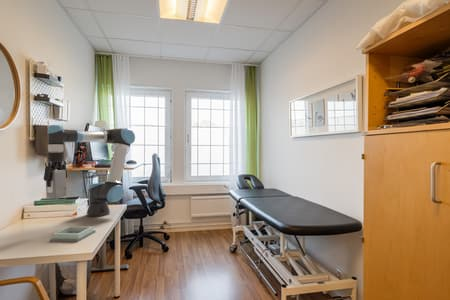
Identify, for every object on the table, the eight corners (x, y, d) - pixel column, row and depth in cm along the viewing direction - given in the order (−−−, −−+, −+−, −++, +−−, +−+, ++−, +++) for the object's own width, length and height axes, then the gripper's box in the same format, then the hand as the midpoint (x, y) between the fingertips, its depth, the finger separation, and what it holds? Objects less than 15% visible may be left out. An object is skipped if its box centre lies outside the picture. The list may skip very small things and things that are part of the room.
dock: (70, 231, 148) (70, 225, 148) (95, 232, 147) (95, 225, 147) (49, 241, 132) (49, 234, 132) (77, 242, 131) (77, 235, 131)
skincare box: (55, 199, 144) (54, 170, 144) (45, 198, 145) (44, 170, 145) (67, 195, 152) (66, 169, 152) (57, 195, 154) (56, 169, 153)
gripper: (62, 151, 160) (62, 188, 160) (34, 152, 138) (35, 194, 138) (74, 151, 159) (74, 188, 159) (48, 152, 138) (48, 194, 138)
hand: (56, 191), depth 149 cm, fingers closed on skincare box, 8 cm apart
